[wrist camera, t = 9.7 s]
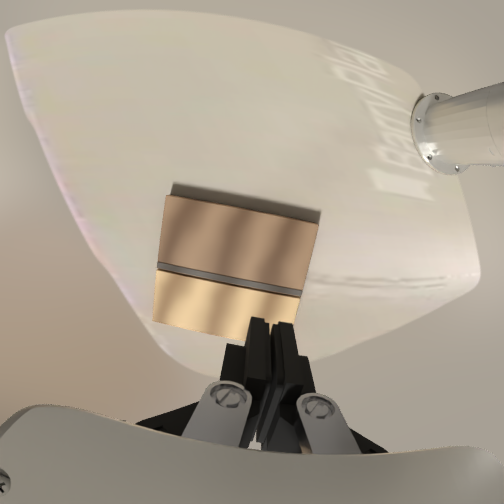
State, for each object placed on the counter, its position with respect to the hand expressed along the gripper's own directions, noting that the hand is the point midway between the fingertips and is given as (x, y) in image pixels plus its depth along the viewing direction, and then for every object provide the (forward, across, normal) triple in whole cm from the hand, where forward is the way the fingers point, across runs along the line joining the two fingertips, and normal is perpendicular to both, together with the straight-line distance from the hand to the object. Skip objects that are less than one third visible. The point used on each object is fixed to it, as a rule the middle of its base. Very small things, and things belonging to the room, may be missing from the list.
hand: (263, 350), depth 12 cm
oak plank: (+29, +3, +12) cm, 32 cm away
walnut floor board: (+29, +3, +3) cm, 29 cm away
